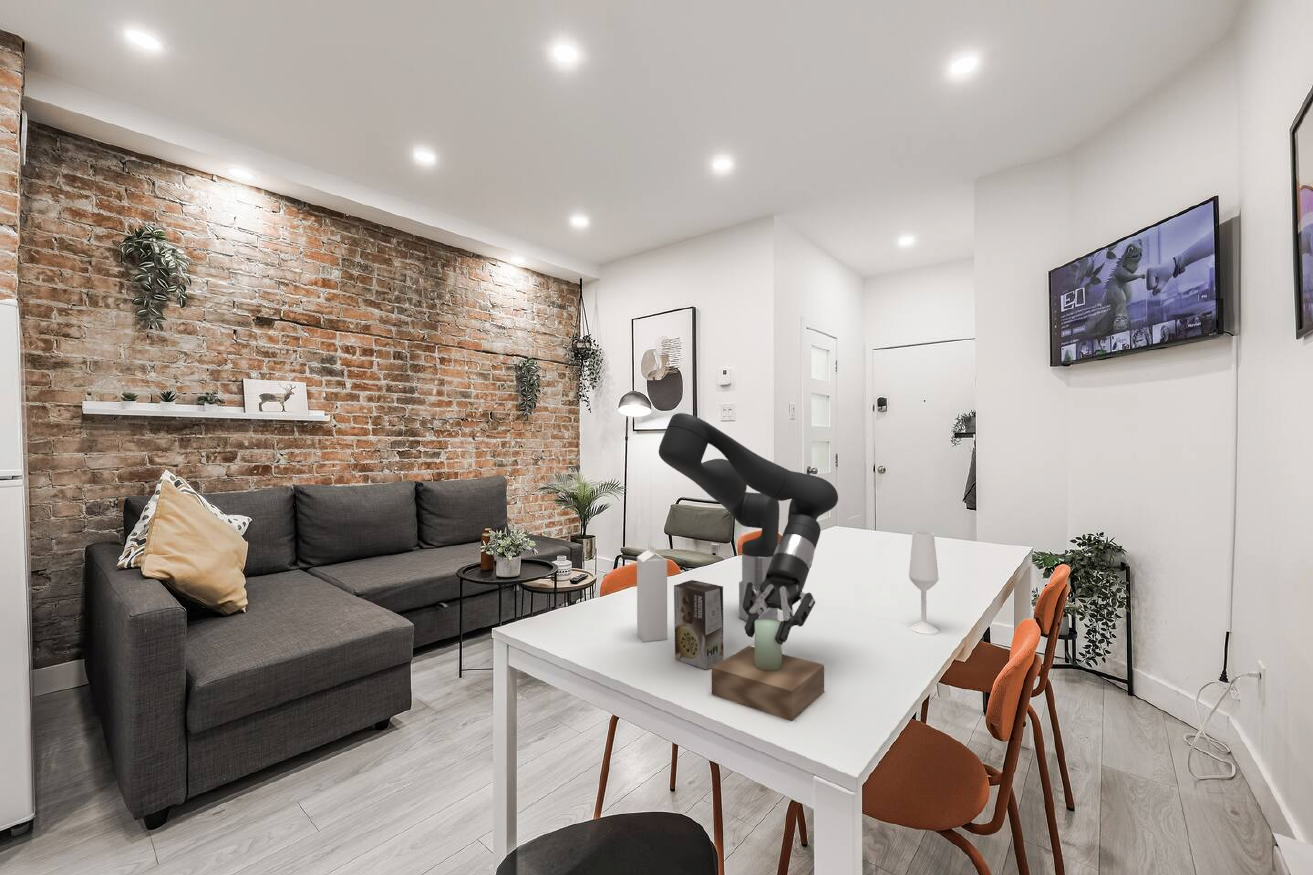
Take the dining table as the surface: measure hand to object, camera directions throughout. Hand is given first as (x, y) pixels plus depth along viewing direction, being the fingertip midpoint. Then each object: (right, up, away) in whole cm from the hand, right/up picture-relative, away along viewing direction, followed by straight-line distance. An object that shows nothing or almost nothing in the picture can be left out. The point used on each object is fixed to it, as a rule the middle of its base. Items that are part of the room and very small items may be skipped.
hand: (763, 638), depth 103 cm
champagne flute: (+47, -11, +36) cm, 60 cm away
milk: (-21, -11, +32) cm, 39 cm away
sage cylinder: (+1, -6, +2) cm, 6 cm away
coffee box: (-11, -11, +17) cm, 23 cm away
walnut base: (+1, -11, +1) cm, 11 cm away
